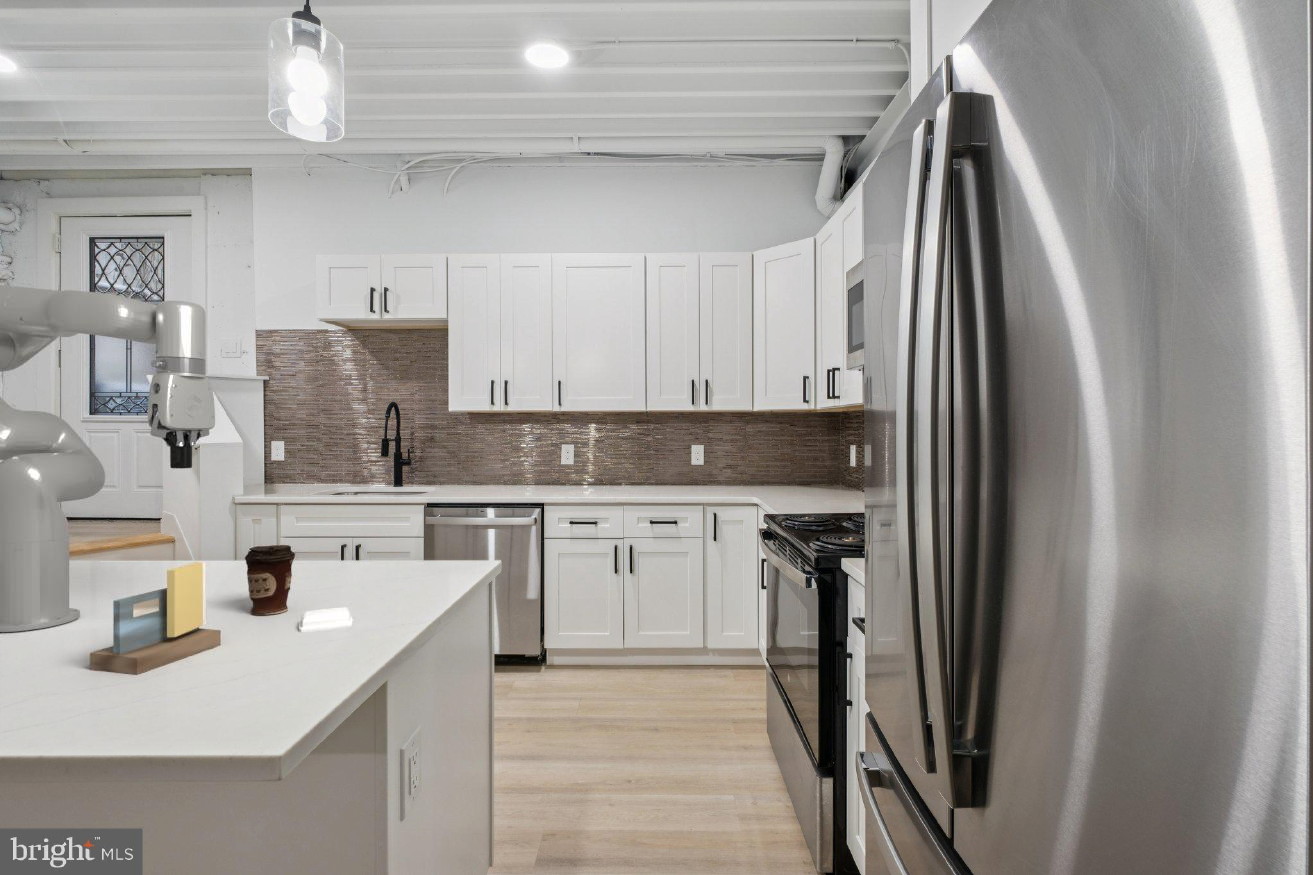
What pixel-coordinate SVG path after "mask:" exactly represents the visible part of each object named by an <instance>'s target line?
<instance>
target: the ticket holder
mask: <svg viewBox="0 0 1313 875" xmlns="http://www.w3.org/2000/svg"><path fill="white" fill-rule="evenodd" d="M112 606H113V608H112V609H113V610H112V612H113V614H112V616H113V619H112V620H113V621H112V622H113V623H112V624H113V625H112V626H113V634H112V635H113V645H112V646H108V647H104V648H102V649H98V650H95V651H91V652H89V671H90V670H92V671H101V672H109V673H118V674H126V675H134V676H135V675H140V674H143V673H146V672H150V671H151V670H155V669H157V668H160V667H164V666H166V665H169V664H172V663H174V662H177V661H180V660H183V659H186V658H188V657H191V656H195V655H197V654H200V653H202V652H206V651H207V650H210V649H213V648H216V647H219V646H221V642H222V641H221V635H222V634H221V630H220V629H211V628H210V629H209V628H208V629H207V628H200V627H198V628H195V629H193V630H191V631H188V632H186V633H184V634H181V635H179V636H176V637H167V587H165V588H162V589H157V590H152V591H148V592H145V593H144V592H143V593H140V594H136V595H132V596H127V597H122V598H118V599H114V600H113V603H112Z"/></svg>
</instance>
